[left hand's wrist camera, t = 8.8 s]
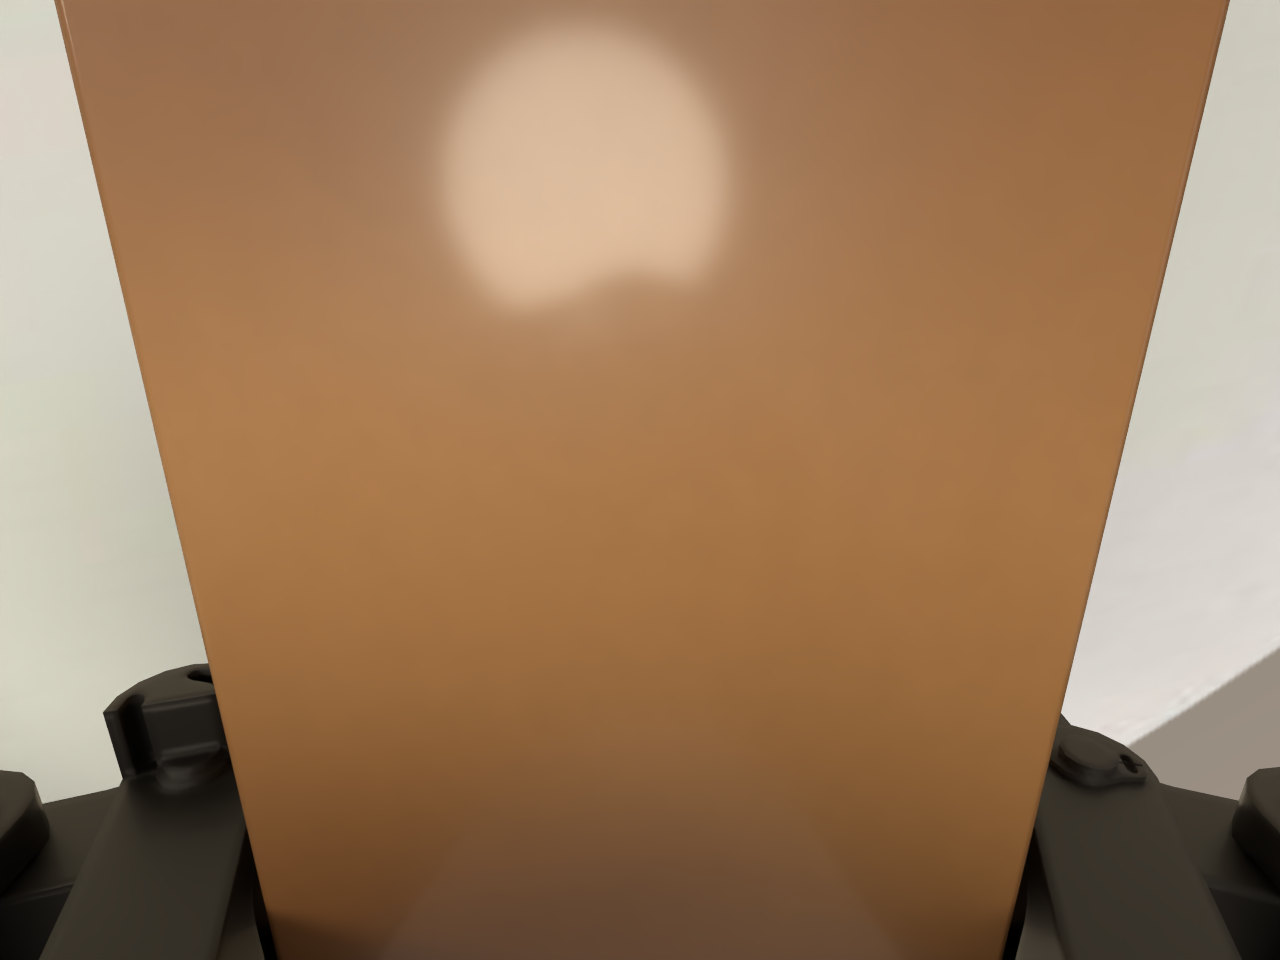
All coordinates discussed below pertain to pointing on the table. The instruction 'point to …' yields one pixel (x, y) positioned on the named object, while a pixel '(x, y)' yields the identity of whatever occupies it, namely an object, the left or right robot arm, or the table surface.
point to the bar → (641, 441)
